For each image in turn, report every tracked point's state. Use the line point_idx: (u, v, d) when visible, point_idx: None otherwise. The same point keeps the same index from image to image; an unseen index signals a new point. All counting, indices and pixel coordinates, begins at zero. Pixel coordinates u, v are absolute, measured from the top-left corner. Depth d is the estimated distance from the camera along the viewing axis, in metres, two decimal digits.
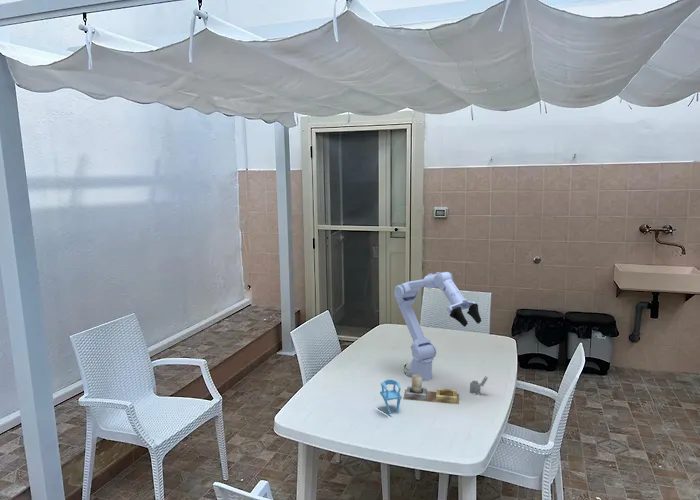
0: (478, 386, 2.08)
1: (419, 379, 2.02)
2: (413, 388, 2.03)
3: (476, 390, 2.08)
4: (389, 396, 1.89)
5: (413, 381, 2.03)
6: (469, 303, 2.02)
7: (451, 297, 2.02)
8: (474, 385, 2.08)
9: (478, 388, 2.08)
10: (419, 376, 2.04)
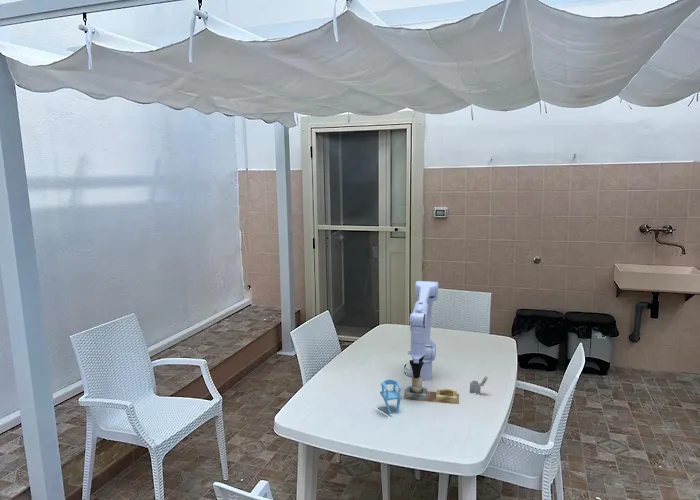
0: (478, 386, 2.08)
1: (419, 379, 2.02)
2: (413, 388, 2.03)
3: (476, 390, 2.08)
4: (389, 396, 1.89)
5: (413, 381, 2.03)
6: None
7: None
8: (474, 385, 2.08)
9: (478, 388, 2.08)
10: None
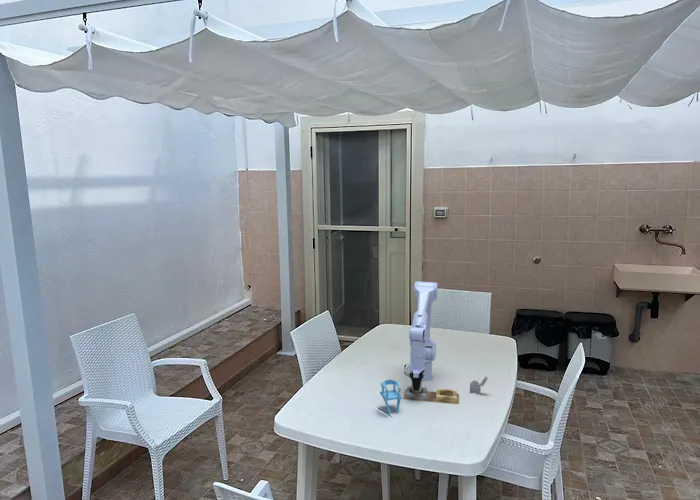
0: (478, 386, 2.08)
1: None
2: None
3: (476, 390, 2.08)
4: (389, 396, 1.89)
5: None
6: None
7: None
8: (474, 385, 2.08)
9: (478, 388, 2.08)
10: None
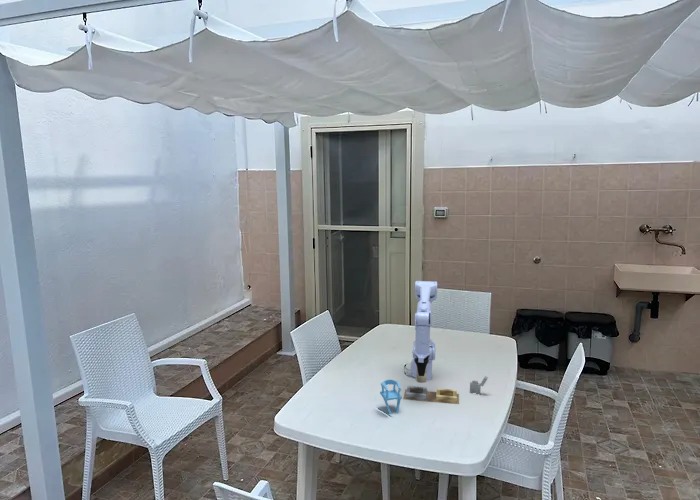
0: (478, 386, 2.08)
1: None
2: None
3: (476, 390, 2.08)
4: (389, 396, 1.89)
5: None
6: None
7: None
8: (474, 385, 2.08)
9: (478, 388, 2.08)
10: None
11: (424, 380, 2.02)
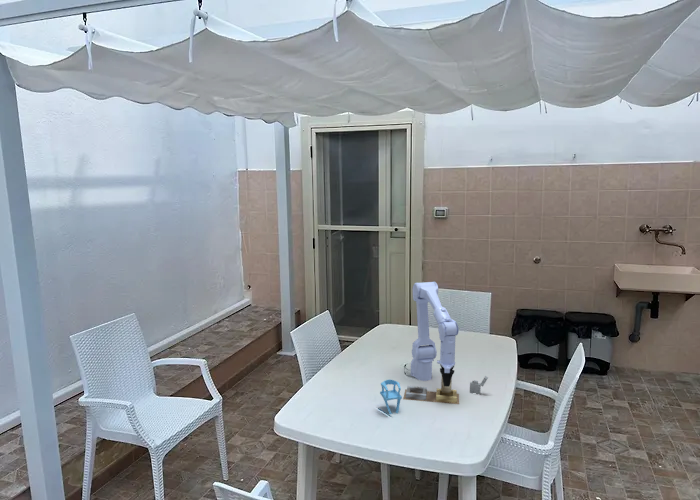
0: (478, 386, 2.08)
1: None
2: (443, 384, 2.00)
3: (476, 390, 2.08)
4: (389, 396, 1.89)
5: None
6: None
7: None
8: (474, 385, 2.08)
9: (478, 388, 2.08)
10: None
11: (449, 390, 2.00)
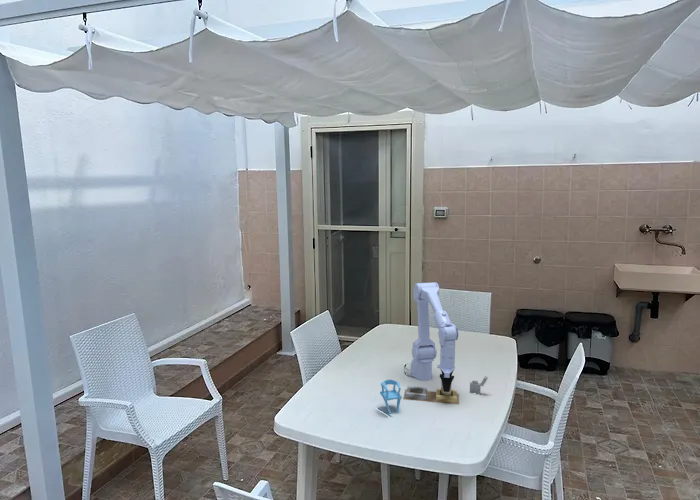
0: (478, 386, 2.08)
1: None
2: (443, 391, 2.01)
3: (476, 390, 2.08)
4: (389, 396, 1.89)
5: None
6: None
7: None
8: (474, 385, 2.08)
9: (478, 388, 2.08)
10: None
11: None
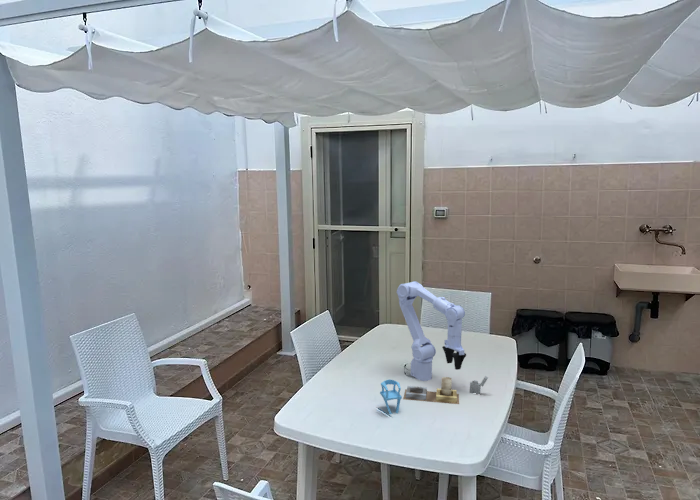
0: (478, 386, 2.08)
1: (449, 381, 2.00)
2: (443, 390, 2.01)
3: (476, 390, 2.08)
4: (389, 396, 1.89)
5: (443, 383, 2.00)
6: None
7: None
8: (474, 385, 2.08)
9: (478, 388, 2.08)
10: (449, 378, 2.01)
11: None
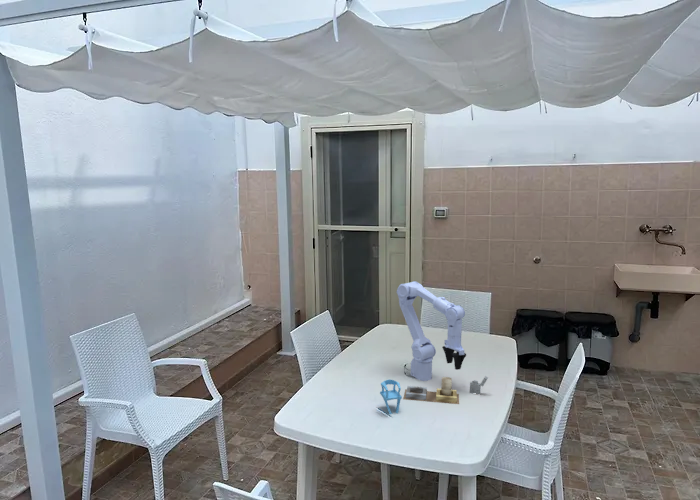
0: (478, 386, 2.08)
1: (449, 381, 2.00)
2: (443, 390, 2.01)
3: (476, 390, 2.08)
4: (389, 396, 1.89)
5: (443, 383, 2.00)
6: None
7: None
8: (474, 385, 2.08)
9: (478, 388, 2.08)
10: (449, 378, 2.01)
11: None
